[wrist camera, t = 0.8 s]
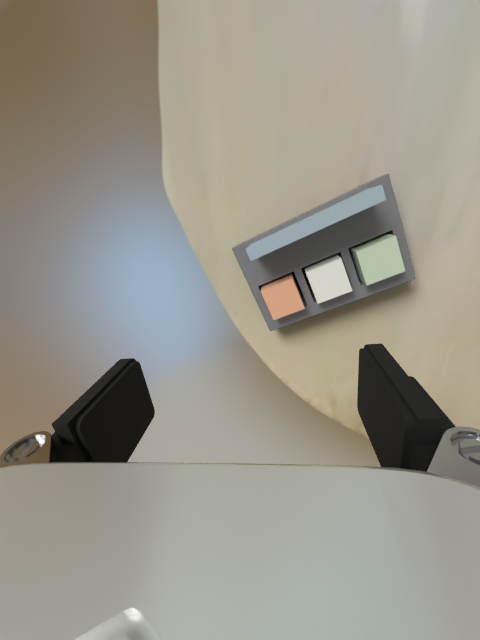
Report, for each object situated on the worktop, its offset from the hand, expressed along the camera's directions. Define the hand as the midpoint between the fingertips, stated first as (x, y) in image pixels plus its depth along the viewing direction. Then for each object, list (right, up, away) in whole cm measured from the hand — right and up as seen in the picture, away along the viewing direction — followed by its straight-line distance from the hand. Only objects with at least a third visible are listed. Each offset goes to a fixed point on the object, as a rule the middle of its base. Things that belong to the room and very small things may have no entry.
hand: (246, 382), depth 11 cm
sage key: (+14, +9, +17) cm, 24 cm away
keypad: (+9, +10, +19) cm, 23 cm away
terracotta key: (+5, +6, +20) cm, 21 cm away
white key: (+9, +8, +18) cm, 22 cm away
